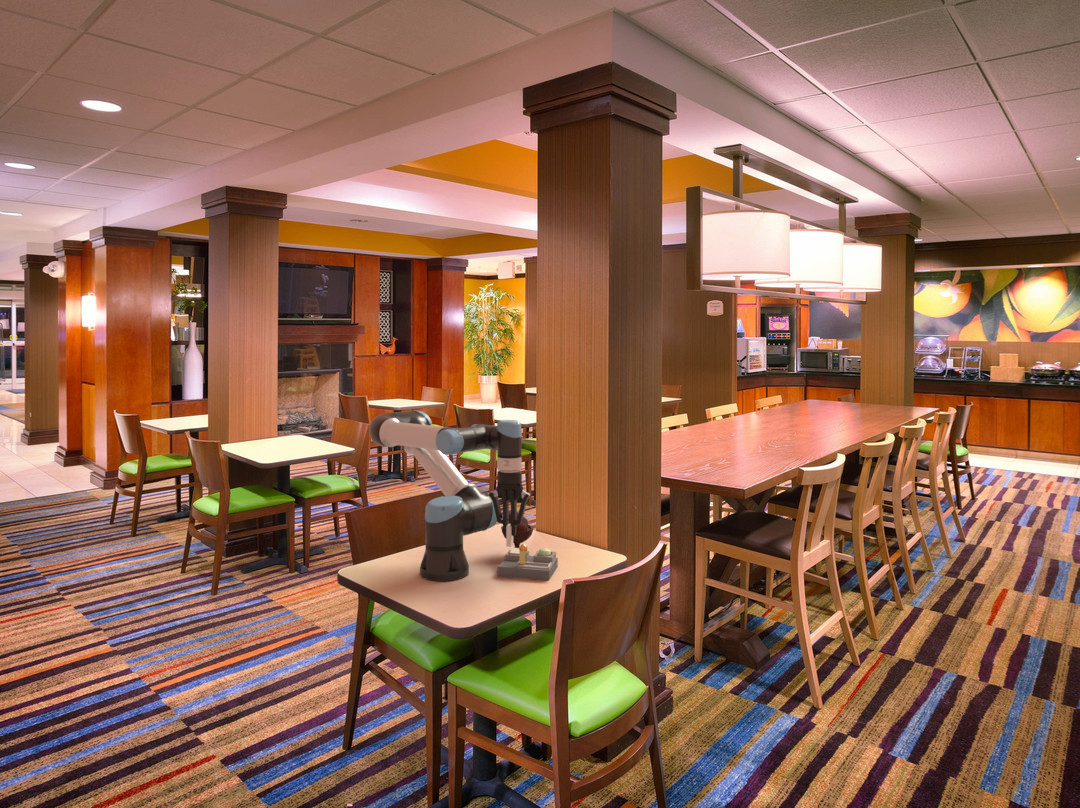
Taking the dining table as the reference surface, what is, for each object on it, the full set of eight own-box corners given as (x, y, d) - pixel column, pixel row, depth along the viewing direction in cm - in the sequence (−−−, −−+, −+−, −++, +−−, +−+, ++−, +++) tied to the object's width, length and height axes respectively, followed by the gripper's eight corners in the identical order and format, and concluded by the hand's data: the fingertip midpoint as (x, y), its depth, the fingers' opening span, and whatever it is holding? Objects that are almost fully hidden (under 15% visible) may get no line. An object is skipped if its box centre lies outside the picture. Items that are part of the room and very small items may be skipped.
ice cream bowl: (530, 560, 229) (530, 515, 227) (497, 558, 230) (497, 514, 229) (535, 551, 239) (535, 508, 238) (504, 549, 241) (504, 507, 240)
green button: (538, 560, 218) (538, 551, 218) (540, 557, 222) (540, 548, 221) (549, 561, 217) (549, 552, 217) (551, 558, 221) (551, 548, 221)
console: (498, 576, 213) (498, 560, 212) (509, 563, 226) (509, 548, 225) (549, 580, 209) (549, 564, 209) (557, 567, 222) (557, 551, 222)
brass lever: (518, 564, 213) (518, 545, 213) (520, 562, 216) (520, 542, 215) (526, 565, 213) (526, 545, 212) (528, 563, 215) (528, 543, 215)
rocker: (509, 556, 220) (509, 552, 220) (512, 551, 223) (512, 547, 223) (522, 557, 220) (521, 553, 219) (524, 552, 222) (524, 548, 222)
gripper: (485, 471, 211) (486, 547, 213) (527, 473, 208) (527, 550, 210) (492, 467, 218) (493, 540, 220) (532, 469, 215) (533, 543, 217)
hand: (509, 545), depth 215 cm, fingers closed
